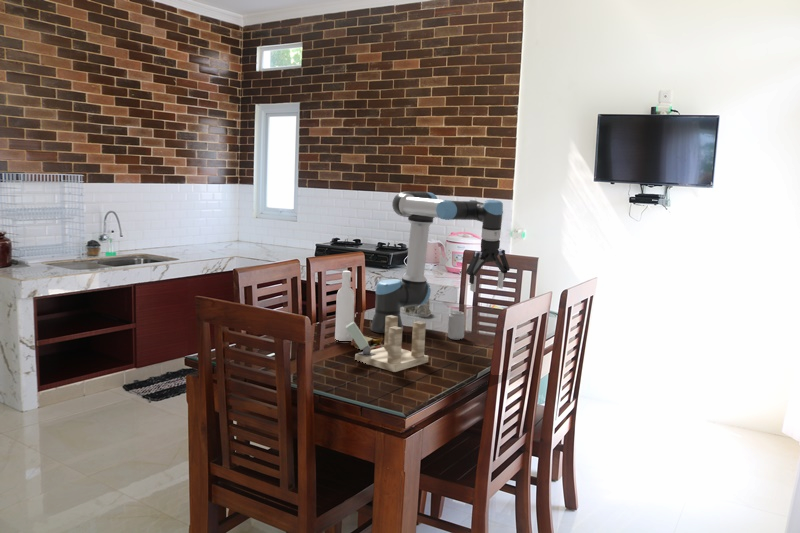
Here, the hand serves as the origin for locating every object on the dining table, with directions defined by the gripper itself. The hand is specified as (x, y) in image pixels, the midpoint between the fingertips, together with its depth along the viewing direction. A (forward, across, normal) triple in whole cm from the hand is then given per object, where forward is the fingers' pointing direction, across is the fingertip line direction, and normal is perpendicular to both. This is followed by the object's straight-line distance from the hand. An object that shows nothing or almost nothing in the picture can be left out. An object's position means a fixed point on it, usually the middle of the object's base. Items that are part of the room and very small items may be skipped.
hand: (486, 289), depth 263 cm
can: (+30, +1, +21) cm, 36 cm away
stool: (+23, -44, -3) cm, 50 cm away
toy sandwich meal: (+26, -45, +18) cm, 55 cm away
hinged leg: (+20, -52, +1) cm, 56 cm away
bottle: (+28, -49, +32) cm, 65 cm away
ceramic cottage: (+37, +10, +74) cm, 83 cm away
